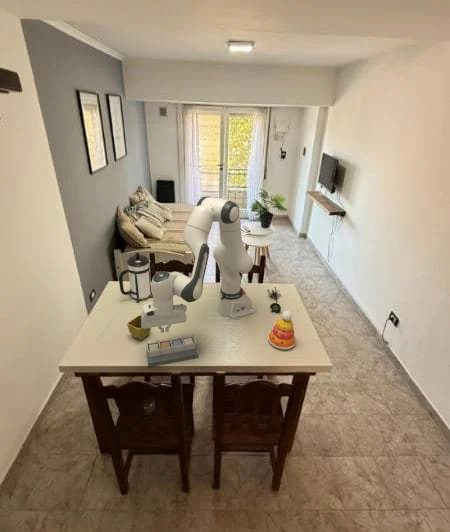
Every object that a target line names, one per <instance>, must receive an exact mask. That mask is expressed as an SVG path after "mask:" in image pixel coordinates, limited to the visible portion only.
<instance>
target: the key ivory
mask: <svg viewBox="0 0 450 532" xmlns="http://www.w3.org/2000/svg"><path fill="white" fill-rule="evenodd" d="M190 343H193V340H192V338H187V339H184V344H190Z"/></svg>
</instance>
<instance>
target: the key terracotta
mask: <svg viewBox="0 0 450 532" xmlns="http://www.w3.org/2000/svg"><path fill="white" fill-rule="evenodd" d="M168 347H170V343H169V342H164V343H161V348H168Z"/></svg>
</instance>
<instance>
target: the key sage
mask: <svg viewBox="0 0 450 532" xmlns="http://www.w3.org/2000/svg"><path fill="white" fill-rule="evenodd" d="M149 349H150V351H151V350H156V349H158V344H152V345H149Z"/></svg>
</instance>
